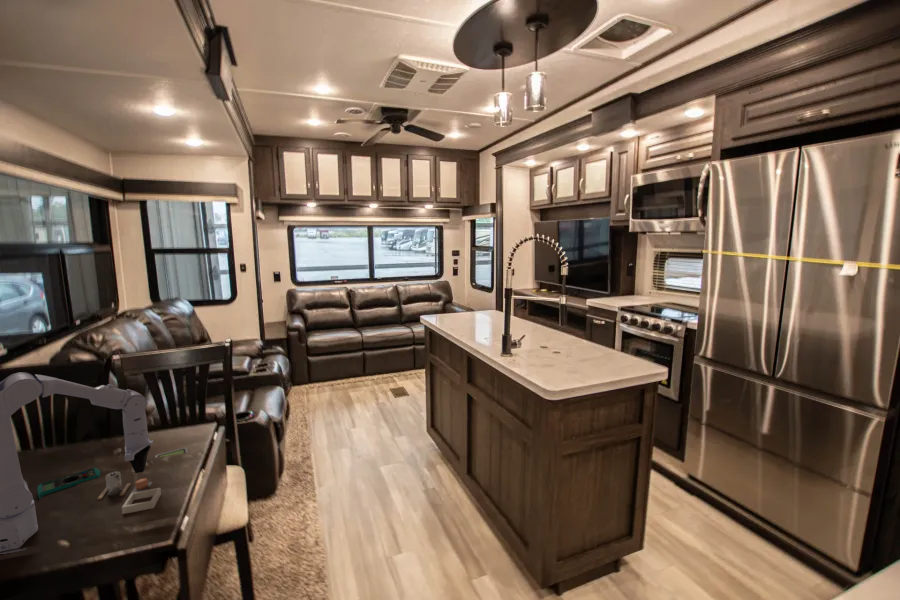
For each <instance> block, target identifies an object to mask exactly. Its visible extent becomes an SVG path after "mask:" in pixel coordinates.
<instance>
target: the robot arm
mask: <svg viewBox="0 0 900 600" xmlns="http://www.w3.org/2000/svg"><path fill="white" fill-rule="evenodd" d="M34 375H35V376H34ZM34 375H32V374H31V373H29V372H24V371H23V372H16V373H12V374H10V375H9V376H7V377H6V378H4V379H3V380H2V381H0V554H4V555H7V553H9V554H12V553H17V552H21V551H26V550H28V548H29V546H28V547H23V548H21V547H22V546H23V545H24V543H25V542H26V541H27V540H28V539H29V538H31V537H32V536H33V535H35V534H36V533H37V532H38V530H39V525H38V519H37V512H36V511H37V509H36V506H35V500H34V496H33V494H32V492H31V491H30V489H29V486H28V485H29V484H28V482H27V481H26V480H25V479H24V478H23V473H22V471H21V470H22V469H21V464H20V460H19V455H18V450H17V444H16V440H15V434H14V430H13V423H12V419H11V416H12V415H13V414H15V413H16V412H17V411H18V410H20V408H22V407H24V406H25V405H28V404H29V403H32V402H34V401H35V400H36V399H37V398H39V397H42V398H47V397H49V396H52V395H55V394H56V395H57V394H58V395H65V396H70V397H77V398H82V399H87V400H89V401H90V404H91V405H93V406H99V407H102V408H108V409H114V410H120V409H121V411H122V426H123V436H124V445H125V446H124V453H125V454H124V462H129V464H130V465H131V466H132V467H131V468H132V469H133V472H134V473H135V474H139V473H144V471H145V470H146V465H147V458H148V455H149V451H150V449H151V446H152V445H153V444H154V440H150V436H149V433H148V431H149V430H148V420H147V414H146V409H147V407H148V404H149V401H147V399H146V397H145V396H144V395H143V394H141V393H139V392H137V391H135V390H132V389H128V388H127V389H122V388H117V387H115V386H114V385H113V384H110V383H108V384H106V385H105V384H101V385H98V386H96V387H94V386H93V387H92V386H88V385H84V384H80V383H76V382H74V381H73V382H72V381H68V380H64V379H60V378H57V377H55V376H54V377H53V376H48V375H42V374H34Z"/></svg>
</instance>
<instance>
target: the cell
mask: <svg viewBox="0 0 900 600" xmlns="http://www.w3.org/2000/svg"><path fill="white" fill-rule="evenodd" d="M104 477H105V485H106V486H105V488H106V487H107V493H106V494H107V496H117V495H118V494H120V493H121V492H122V490H123V485H122V475H121V471H113V472H109V473H107V474H106V475H105V476H104Z"/></svg>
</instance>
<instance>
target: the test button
mask: <svg viewBox="0 0 900 600" xmlns="http://www.w3.org/2000/svg"><path fill="white" fill-rule="evenodd" d="M148 481H149V480H148V479H147V478H146V477H145V478H140V479H137V480H135V486H136V489H137V490H141V489H144V488H146V487H147V486H148V483H149V482H148Z"/></svg>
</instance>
